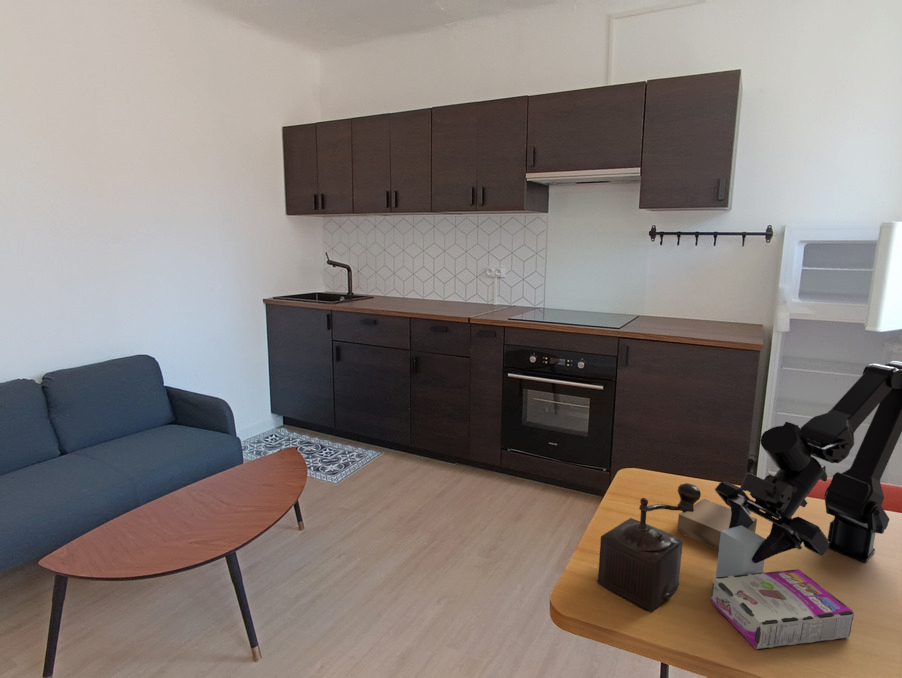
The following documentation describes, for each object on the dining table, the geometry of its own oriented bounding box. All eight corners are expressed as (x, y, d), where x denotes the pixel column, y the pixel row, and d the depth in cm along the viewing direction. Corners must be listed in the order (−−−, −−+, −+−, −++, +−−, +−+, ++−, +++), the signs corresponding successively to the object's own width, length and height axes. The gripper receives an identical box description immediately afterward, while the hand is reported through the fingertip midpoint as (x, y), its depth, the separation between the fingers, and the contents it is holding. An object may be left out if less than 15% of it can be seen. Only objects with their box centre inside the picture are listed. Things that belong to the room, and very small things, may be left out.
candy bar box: (795, 594, 94) (708, 601, 91) (799, 568, 93) (712, 575, 90) (851, 641, 83) (754, 651, 80) (856, 612, 82) (759, 621, 80)
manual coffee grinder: (654, 616, 88) (663, 514, 84) (595, 583, 96) (602, 489, 93) (696, 577, 98) (706, 485, 95) (640, 551, 106) (647, 465, 103)
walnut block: (754, 536, 112) (757, 518, 111) (731, 555, 105) (733, 536, 104) (702, 515, 120) (704, 498, 119) (677, 531, 113) (678, 514, 112)
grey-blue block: (735, 575, 99) (741, 525, 97) (759, 592, 94) (766, 539, 92) (715, 581, 97) (720, 530, 95) (739, 598, 92) (745, 545, 90)
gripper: (727, 439, 101) (676, 504, 99) (828, 481, 85) (769, 559, 82) (752, 472, 106) (704, 535, 104) (852, 518, 89) (798, 594, 87)
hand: (739, 553), depth 94 cm, fingers closed on grey-blue block, 5 cm apart
